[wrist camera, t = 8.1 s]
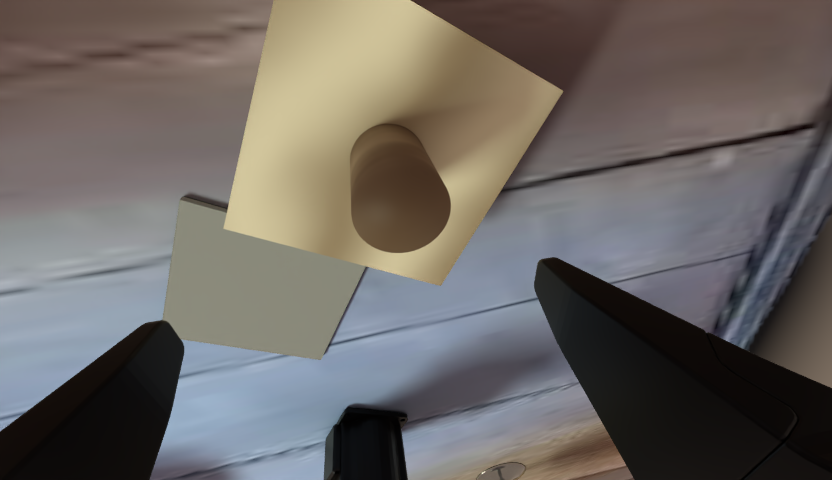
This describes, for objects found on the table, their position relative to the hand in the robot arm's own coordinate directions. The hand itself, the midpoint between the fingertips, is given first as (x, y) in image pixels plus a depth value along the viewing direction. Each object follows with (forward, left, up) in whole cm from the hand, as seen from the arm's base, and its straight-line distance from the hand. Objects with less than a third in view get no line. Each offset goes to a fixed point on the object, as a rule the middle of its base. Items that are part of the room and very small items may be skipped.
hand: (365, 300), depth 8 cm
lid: (-1, -1, -8) cm, 9 cm away
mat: (+2, +12, -12) cm, 17 cm away
